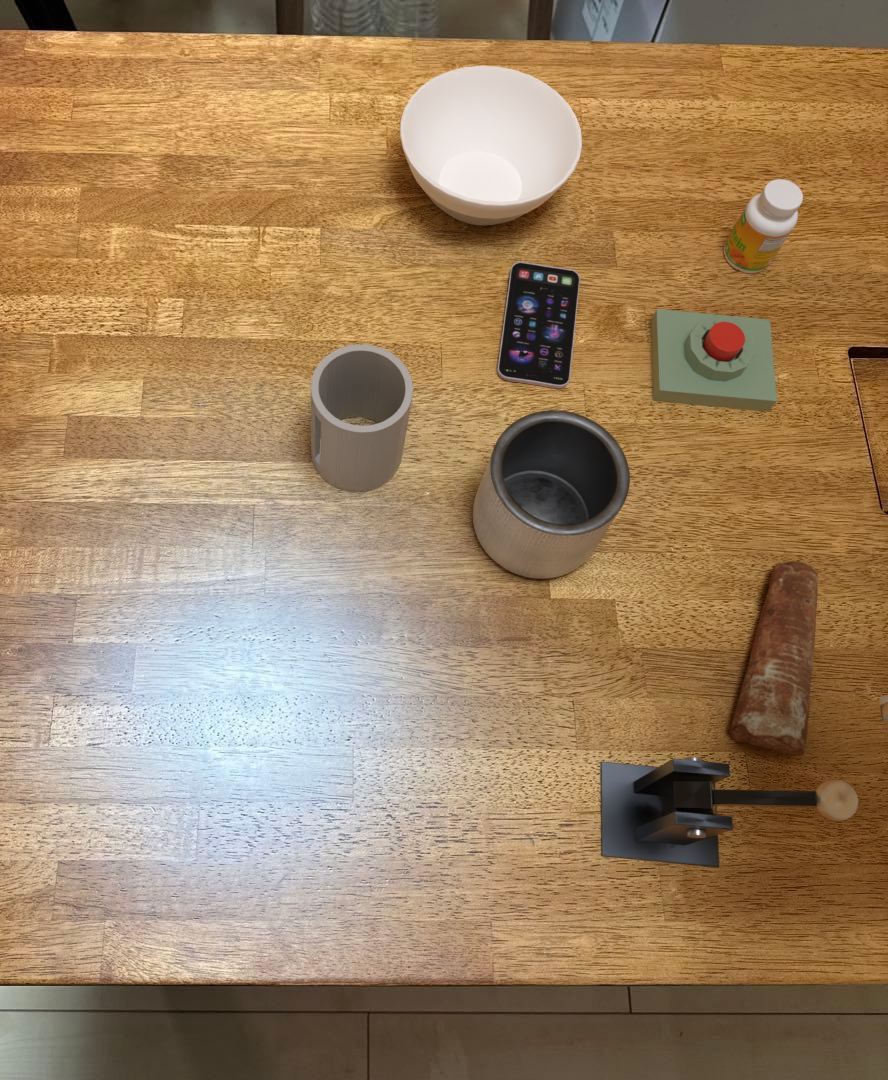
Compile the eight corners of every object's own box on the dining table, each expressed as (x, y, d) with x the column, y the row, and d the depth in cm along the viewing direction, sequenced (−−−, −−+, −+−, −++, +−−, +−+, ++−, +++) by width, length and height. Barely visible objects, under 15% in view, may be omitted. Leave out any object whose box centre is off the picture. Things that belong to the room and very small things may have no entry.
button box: (761, 331, 109) (777, 308, 105) (768, 412, 105) (785, 391, 102) (650, 320, 109) (662, 298, 106) (652, 401, 105) (665, 380, 102)
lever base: (709, 774, 90) (764, 747, 80) (714, 868, 87) (771, 853, 76) (597, 763, 90) (636, 735, 80) (598, 857, 87) (639, 841, 76)
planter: (504, 600, 96) (527, 556, 86) (450, 489, 101) (465, 434, 90) (621, 556, 98) (657, 507, 88) (563, 448, 103) (591, 390, 93)
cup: (419, 440, 103) (431, 376, 92) (370, 508, 100) (377, 450, 88) (344, 396, 104) (347, 328, 93) (293, 461, 101) (291, 398, 90)
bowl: (518, 284, 110) (533, 234, 103) (362, 210, 114) (366, 155, 106) (592, 166, 117) (612, 110, 110) (444, 99, 121) (452, 40, 113)
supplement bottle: (715, 238, 114) (750, 176, 105) (761, 232, 114) (799, 170, 105) (731, 278, 112) (767, 217, 103) (777, 271, 112) (817, 211, 103)
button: (737, 333, 105) (744, 323, 103) (739, 362, 103) (746, 353, 102) (702, 329, 105) (708, 319, 103) (704, 359, 103) (710, 349, 102)
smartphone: (580, 270, 111) (569, 387, 105) (579, 274, 111) (567, 390, 105) (512, 260, 111) (496, 376, 105) (511, 263, 111) (495, 379, 106)
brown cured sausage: (717, 744, 91) (741, 730, 86) (763, 562, 99) (787, 539, 94) (786, 770, 91) (814, 758, 86) (827, 585, 98) (855, 563, 93)
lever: (855, 783, 77) (856, 775, 75) (859, 824, 76) (860, 817, 73) (677, 781, 82) (672, 773, 80) (679, 819, 81) (674, 813, 78)
